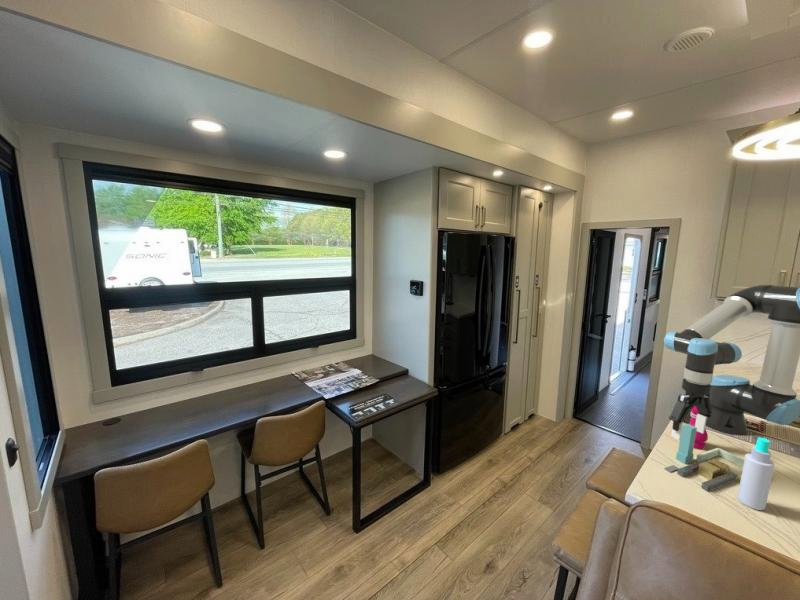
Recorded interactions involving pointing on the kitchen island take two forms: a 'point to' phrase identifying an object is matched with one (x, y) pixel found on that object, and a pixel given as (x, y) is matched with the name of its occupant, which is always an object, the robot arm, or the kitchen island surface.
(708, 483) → the channel
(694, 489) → the kitchen island surface
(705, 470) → the olive yellow cube
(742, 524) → the kitchen island surface
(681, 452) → the teal rectangular block
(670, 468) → the mat
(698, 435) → the pepper mill
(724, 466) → the olive cube
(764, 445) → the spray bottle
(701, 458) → the pale green l-shape
